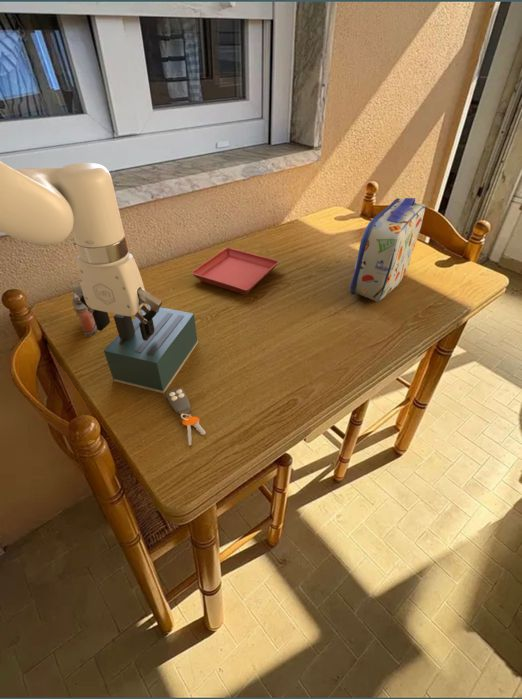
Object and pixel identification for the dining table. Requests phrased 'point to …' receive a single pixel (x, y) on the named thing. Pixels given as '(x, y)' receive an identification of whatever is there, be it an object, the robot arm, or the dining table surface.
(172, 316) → the toaster
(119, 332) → the slider
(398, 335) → the dining table surface
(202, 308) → the dining table surface
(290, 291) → the dining table surface
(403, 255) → the lunch box
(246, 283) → the plant saucer
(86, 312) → the lighter
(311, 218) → the dining table surface
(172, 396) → the key chain
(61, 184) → the robot arm
